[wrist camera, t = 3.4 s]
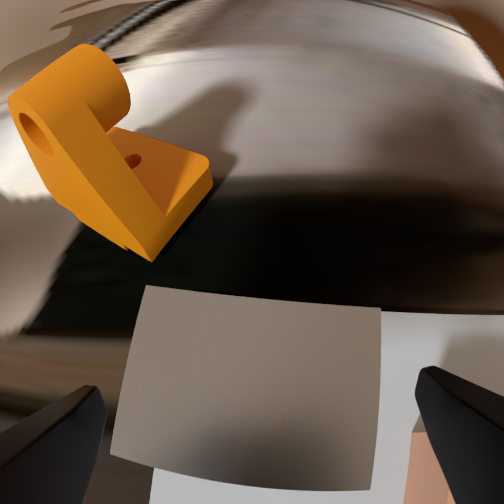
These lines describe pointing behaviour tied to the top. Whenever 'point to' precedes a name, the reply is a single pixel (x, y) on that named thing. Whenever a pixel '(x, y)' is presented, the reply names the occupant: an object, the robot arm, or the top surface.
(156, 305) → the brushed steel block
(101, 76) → the bracket
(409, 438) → the bench mat
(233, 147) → the top surface
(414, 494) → the holder
